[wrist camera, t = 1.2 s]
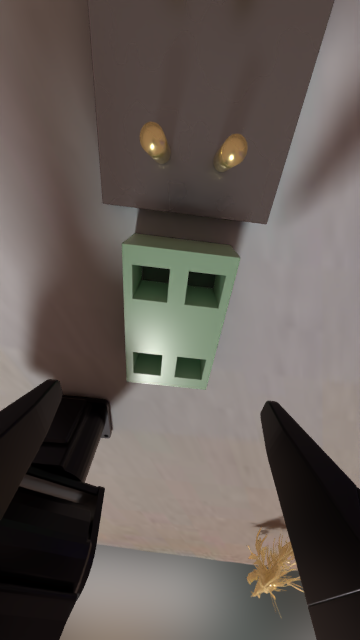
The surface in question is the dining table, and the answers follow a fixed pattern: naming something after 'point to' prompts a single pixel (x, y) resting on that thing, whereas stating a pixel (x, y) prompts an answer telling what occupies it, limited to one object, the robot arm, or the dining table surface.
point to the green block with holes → (174, 309)
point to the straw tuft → (271, 576)
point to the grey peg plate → (200, 100)
